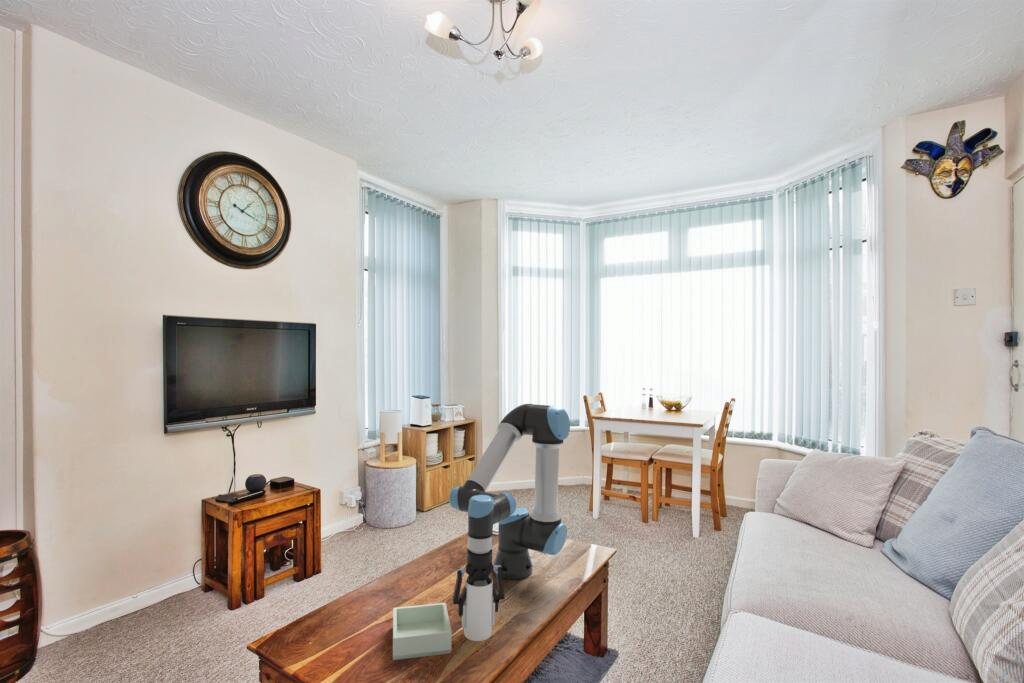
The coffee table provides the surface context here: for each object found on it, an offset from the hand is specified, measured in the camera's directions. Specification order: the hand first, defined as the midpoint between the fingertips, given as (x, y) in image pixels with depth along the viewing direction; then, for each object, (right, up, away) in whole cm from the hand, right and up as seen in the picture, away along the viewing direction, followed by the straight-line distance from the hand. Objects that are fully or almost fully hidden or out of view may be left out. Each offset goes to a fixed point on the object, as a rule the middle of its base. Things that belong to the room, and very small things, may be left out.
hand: (478, 623), depth 149 cm
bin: (-17, -2, -4) cm, 17 cm away
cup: (0, -3, 0) cm, 3 cm away
